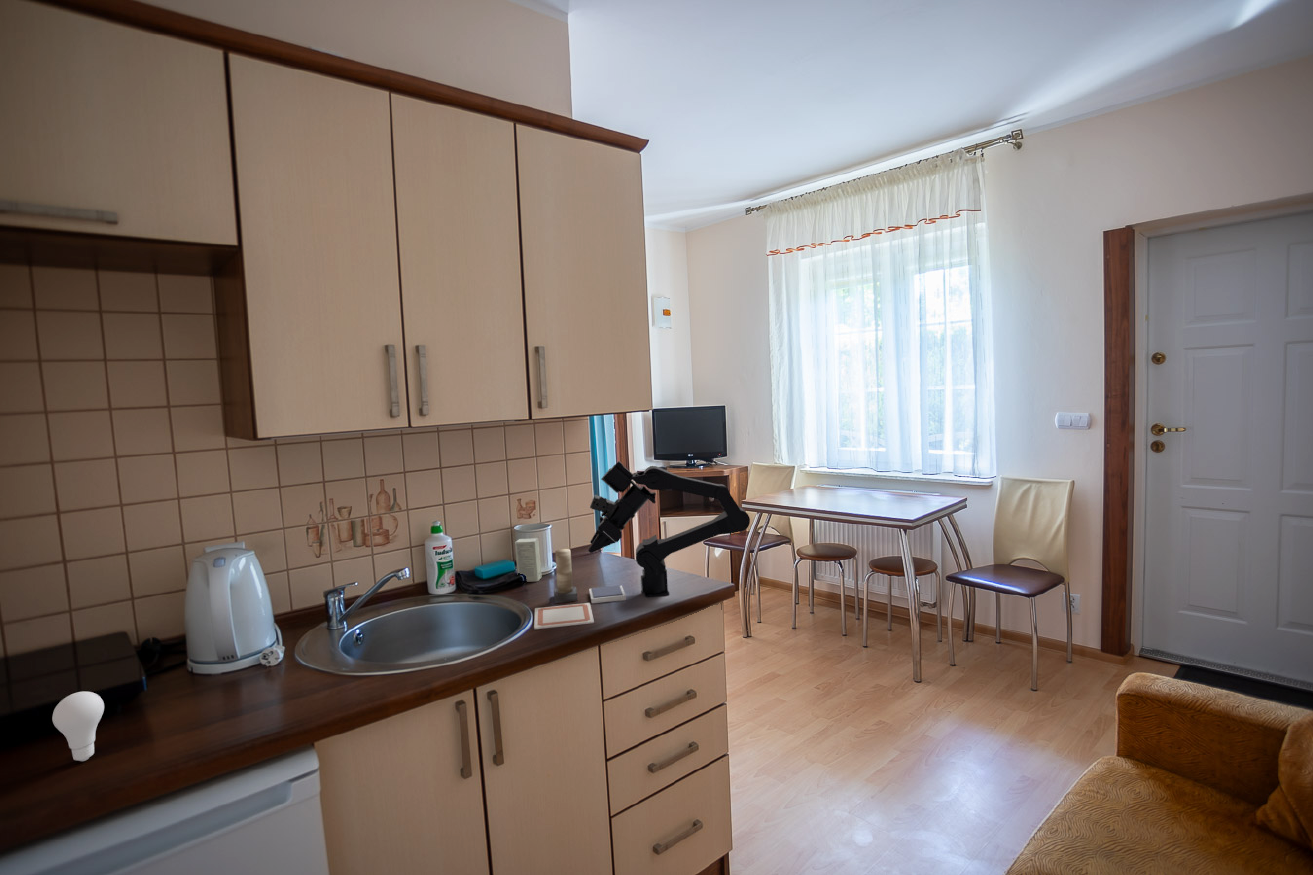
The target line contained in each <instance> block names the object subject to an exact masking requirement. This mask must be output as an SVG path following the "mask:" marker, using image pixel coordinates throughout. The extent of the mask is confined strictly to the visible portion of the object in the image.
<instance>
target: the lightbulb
mask: <svg viewBox="0 0 1313 875" xmlns="http://www.w3.org/2000/svg"><path fill="white" fill-rule="evenodd" d="M104 711H105V703H104V700H103V699H102V698H101V696H100V695H99V694H97V693H94V692H92V691H78V692H75V693H72V694H70V695H67V696H65V698H63V699H61V700H60V701H59V703H58V704H57V705H56V706H55V708H54V710H53V713H52V718H51V719H52V723H53V725H54V727H55V728H56V729H57V730H58V731H59V732H60V733H61V734H63V735H64V737H65V738H66V741H67V743H68V748H69V749H70V750H71V755H72V758H73V760H74V761H79V762H85V761H87V760H89V759H90V757H92V756H93V755H94V754H95V741H96V731H97V729H98V728H97V727H98V724H99V723H100V721H101V719H102V716H103V714H104Z"/></svg>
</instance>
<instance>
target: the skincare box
mask: <svg viewBox="0 0 1313 875" xmlns="http://www.w3.org/2000/svg"><path fill="white" fill-rule="evenodd" d="M514 548H515V559H516V560H515V562H516V570H517V574H518V573H520V574H524V575H525V576H526V579H527V582H528V583H529V582H530V583H531V582H539V581H540V579H542V576H543V575H542V565H541V553H540V552H541V551H540V542H539V537H533V538H532V537H531V538H518V539H517V540H516V541H515V542H514ZM527 582H526V583H527Z"/></svg>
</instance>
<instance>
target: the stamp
mask: <svg viewBox="0 0 1313 875" xmlns="http://www.w3.org/2000/svg"><path fill="white" fill-rule="evenodd" d="M555 566H556V570H555V571H556V581H557V582H556V584H557V585H556V586H557V588H553V595H554V596H553V597H554V598H553V599H554V601H553V602H554V604H560V603H570V602H578V601H579V600H578V592H577V587H576V586H573V572H572V555H571V549H569V548H560V549H557V550H555Z"/></svg>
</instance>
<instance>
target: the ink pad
mask: <svg viewBox="0 0 1313 875" xmlns="http://www.w3.org/2000/svg"><path fill="white" fill-rule="evenodd" d="M588 590H589V592H588V593H589V597H590V601H591V602H590V603H591V604H599V603H608V602H621V601H626V600H627V596H626V595H627V594H626V592H625V590H624V588H623V585H612V586H611V585H609V586H602V587H592V588H589V589H588Z"/></svg>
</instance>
